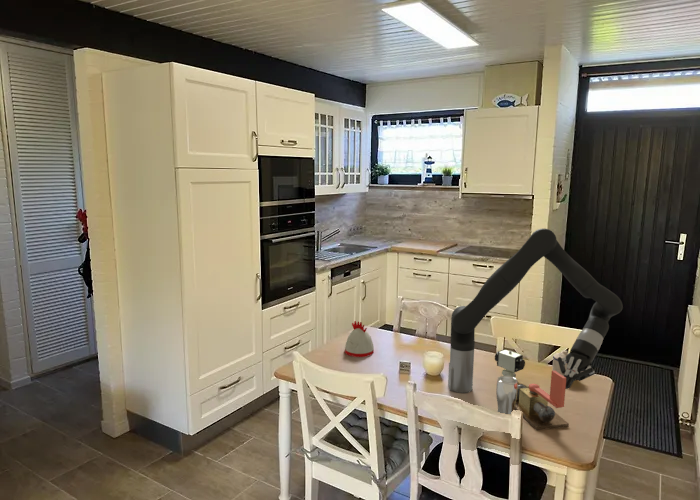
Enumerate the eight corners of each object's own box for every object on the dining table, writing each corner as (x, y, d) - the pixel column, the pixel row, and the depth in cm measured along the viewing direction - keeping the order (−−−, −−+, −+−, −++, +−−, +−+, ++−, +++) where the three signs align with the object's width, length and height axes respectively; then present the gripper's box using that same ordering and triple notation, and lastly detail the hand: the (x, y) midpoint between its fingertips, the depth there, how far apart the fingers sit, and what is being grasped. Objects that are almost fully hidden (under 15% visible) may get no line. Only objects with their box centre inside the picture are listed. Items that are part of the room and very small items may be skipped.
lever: (526, 387, 174) (528, 357, 172) (535, 386, 175) (537, 357, 173) (557, 411, 157) (559, 378, 155) (566, 410, 158) (569, 377, 156)
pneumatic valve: (518, 384, 197) (519, 356, 196) (493, 375, 206) (494, 348, 204) (525, 380, 201) (527, 353, 199) (500, 371, 210) (502, 345, 208)
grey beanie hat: (355, 344, 242) (356, 315, 240) (379, 350, 234) (379, 320, 232) (339, 352, 231) (339, 322, 228) (362, 359, 223) (363, 328, 220)
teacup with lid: (569, 383, 198) (571, 356, 196) (547, 376, 205) (549, 350, 203) (580, 375, 207) (583, 349, 205) (559, 369, 213) (561, 343, 211)
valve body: (568, 426, 165) (570, 403, 163) (536, 430, 162) (538, 406, 161) (533, 397, 186) (534, 376, 185) (504, 399, 184) (505, 378, 182)
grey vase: (491, 415, 172) (493, 375, 170) (510, 414, 173) (513, 375, 170) (499, 425, 165) (501, 384, 163) (518, 424, 166) (521, 383, 163)
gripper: (565, 333, 169) (542, 375, 164) (602, 344, 158) (579, 389, 153) (572, 345, 172) (550, 385, 167) (609, 356, 162) (587, 400, 157)
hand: (564, 387), depth 160 cm, fingers closed
